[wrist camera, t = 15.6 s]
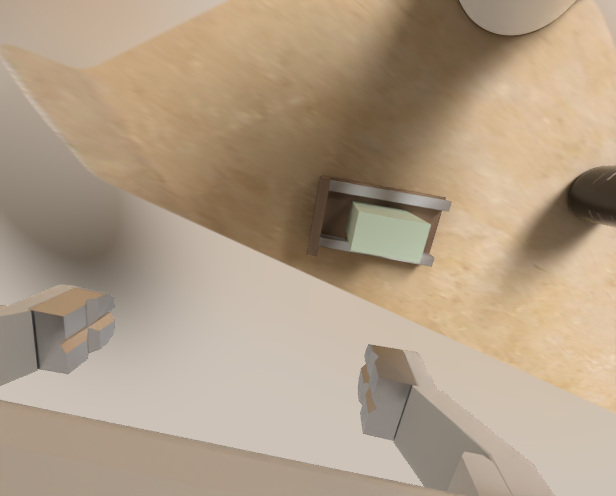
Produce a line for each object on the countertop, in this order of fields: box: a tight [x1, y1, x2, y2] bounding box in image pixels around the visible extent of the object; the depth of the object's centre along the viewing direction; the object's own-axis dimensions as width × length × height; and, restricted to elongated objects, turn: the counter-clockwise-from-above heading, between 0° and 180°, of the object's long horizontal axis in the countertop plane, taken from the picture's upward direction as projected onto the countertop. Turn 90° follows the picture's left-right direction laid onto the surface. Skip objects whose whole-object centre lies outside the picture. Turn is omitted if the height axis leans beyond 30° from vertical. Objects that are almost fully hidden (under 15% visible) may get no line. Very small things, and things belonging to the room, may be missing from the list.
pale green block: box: [345, 201, 431, 263], centre depth 33 cm, size 7×4×10 cm, turn 80°
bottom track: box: [307, 176, 451, 267], centre depth 36 cm, size 16×9×6 cm, turn 80°
